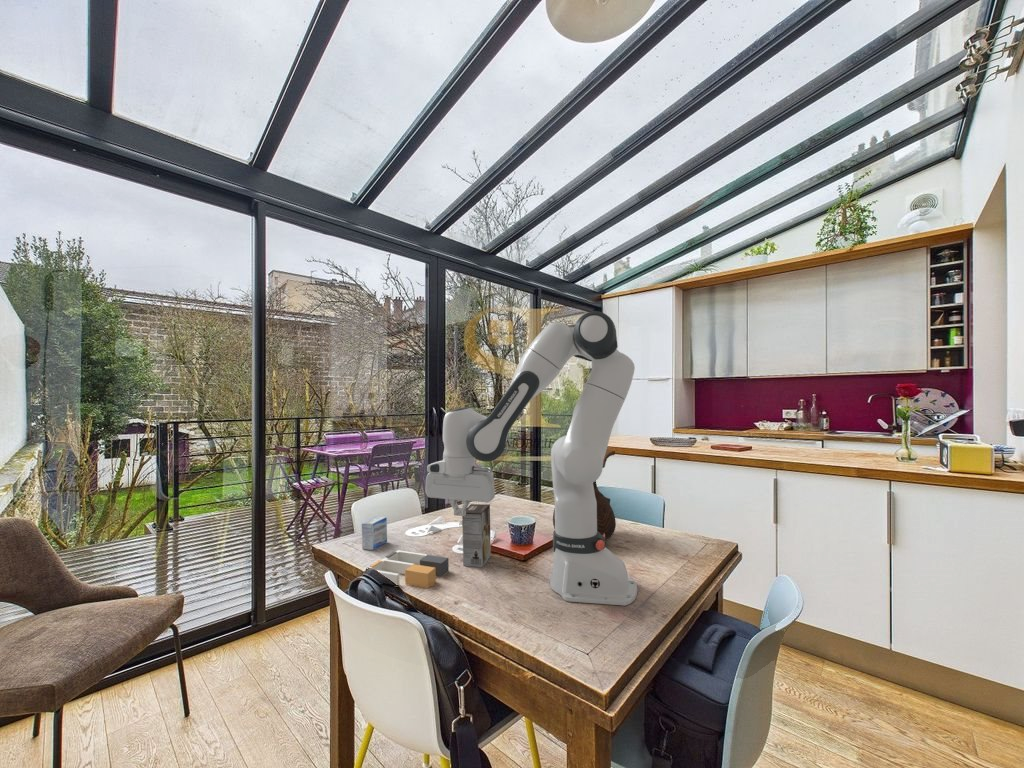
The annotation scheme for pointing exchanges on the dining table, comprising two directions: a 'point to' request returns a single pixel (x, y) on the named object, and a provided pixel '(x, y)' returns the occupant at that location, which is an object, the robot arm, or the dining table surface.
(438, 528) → the white flat shape
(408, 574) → the tan wooden block
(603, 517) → the jug
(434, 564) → the slate gray rubber brick
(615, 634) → the dining table surface
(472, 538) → the coffee box
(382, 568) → the rack
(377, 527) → the medicine box
